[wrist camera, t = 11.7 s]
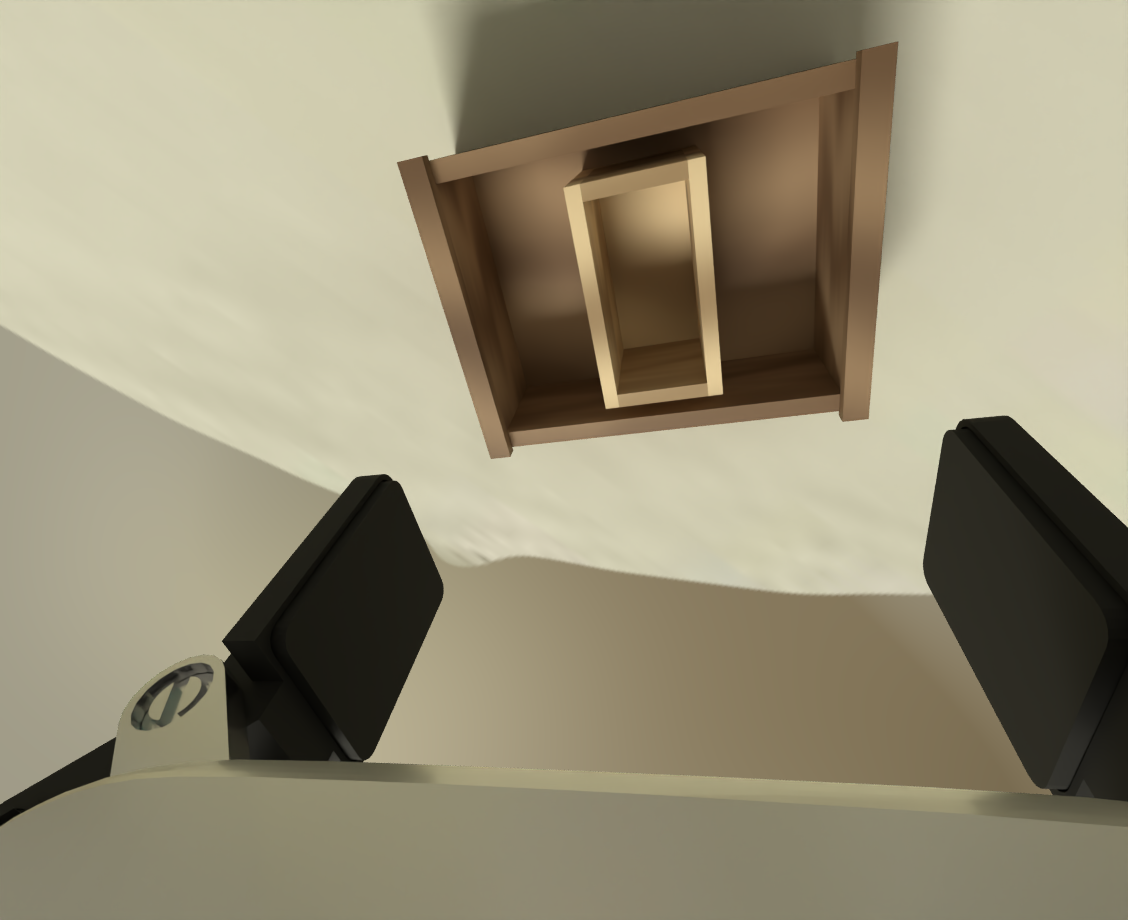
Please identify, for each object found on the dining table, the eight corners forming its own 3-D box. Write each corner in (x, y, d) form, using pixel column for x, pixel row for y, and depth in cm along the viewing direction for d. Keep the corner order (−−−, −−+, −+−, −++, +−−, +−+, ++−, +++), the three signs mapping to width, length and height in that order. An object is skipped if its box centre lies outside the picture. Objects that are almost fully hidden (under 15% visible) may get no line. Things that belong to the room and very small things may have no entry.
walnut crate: (451, 150, 26) (397, 162, 21) (839, 56, 23) (898, 41, 17) (518, 398, 33) (490, 458, 27) (828, 358, 29) (868, 419, 24)
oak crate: (582, 170, 25) (563, 187, 20) (695, 145, 24) (705, 156, 19) (614, 357, 30) (605, 408, 25) (711, 343, 29) (723, 394, 24)
